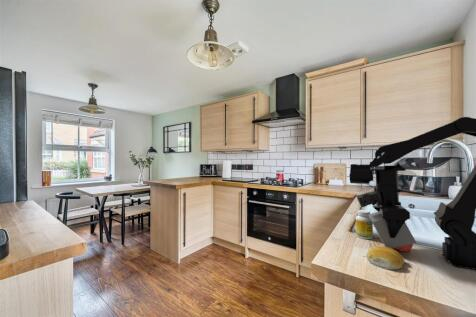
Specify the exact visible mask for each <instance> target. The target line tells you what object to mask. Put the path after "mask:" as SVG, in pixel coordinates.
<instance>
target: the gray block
mask: <svg viewBox="0 0 476 317" xmlns="http://www.w3.org/2000/svg"><path fill="white" fill-rule="evenodd" d="M380 215H381V213H380V211H379V212H378V211H376V212H372V213H370V214H369V215H368V216H369V218H370V219H371V221H372V223H373V227H374V228H375V230H376V233H377V235H378V236H379V238H380V240H381V242H382V244H383V245H384V247H388V248H392V249H396V248H395V247H399V246H404V245H409V244H413V245H414V244H416V243H417V241H416V239H415V237H414V236H413V233H412V232H411V230H410V228H409V227H408V225H407V223H406V222H405V223H404V224H403V225H402V227H401V229H400V230H399V232H398V234H397V235H396V237H395V238H390V235H389V231H388V227H387V223H386V220H385V219H383V218H382V217H381V216H380Z"/></svg>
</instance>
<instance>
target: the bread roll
mask: <svg viewBox="0 0 476 317" xmlns="http://www.w3.org/2000/svg"><path fill="white" fill-rule="evenodd" d="M365 256H366V259H367V261H368V262H369V263H370V264H372V265H374V266H376V267H379V268H381V269H386V270H389V271H391V270H392V271H395V270H400V269H401V268H402V267H403V265H404V264H405V259H404V257H403V256H402V255H401V254H400V253H399V252H398V250H395V248H388V247H385V246H375V247H374V246H373V247H372V248H370V249H369V250H368V251H367V252H366V255H365Z"/></svg>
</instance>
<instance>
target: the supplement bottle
mask: <svg viewBox="0 0 476 317" xmlns="http://www.w3.org/2000/svg"><path fill="white" fill-rule="evenodd" d="M369 214H371V211H369V210H366V209H358V210H357V215H356V216H355V234H356V235H355V236H356V237H358V238H359V239H362V240H372V239H373V238H374V228H373V227H374V225H373V223H372V221H371V219H370V218H369V216H368V215H369Z"/></svg>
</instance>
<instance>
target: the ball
mask: <svg viewBox="0 0 476 317" xmlns="http://www.w3.org/2000/svg"><path fill="white" fill-rule="evenodd" d="M413 246H414V243H413V244H409V245H404V246H399V247H395V248H394V249H396V250H397V251H400V252H405V253H406V252H410V251H411V250H412V249H413Z"/></svg>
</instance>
